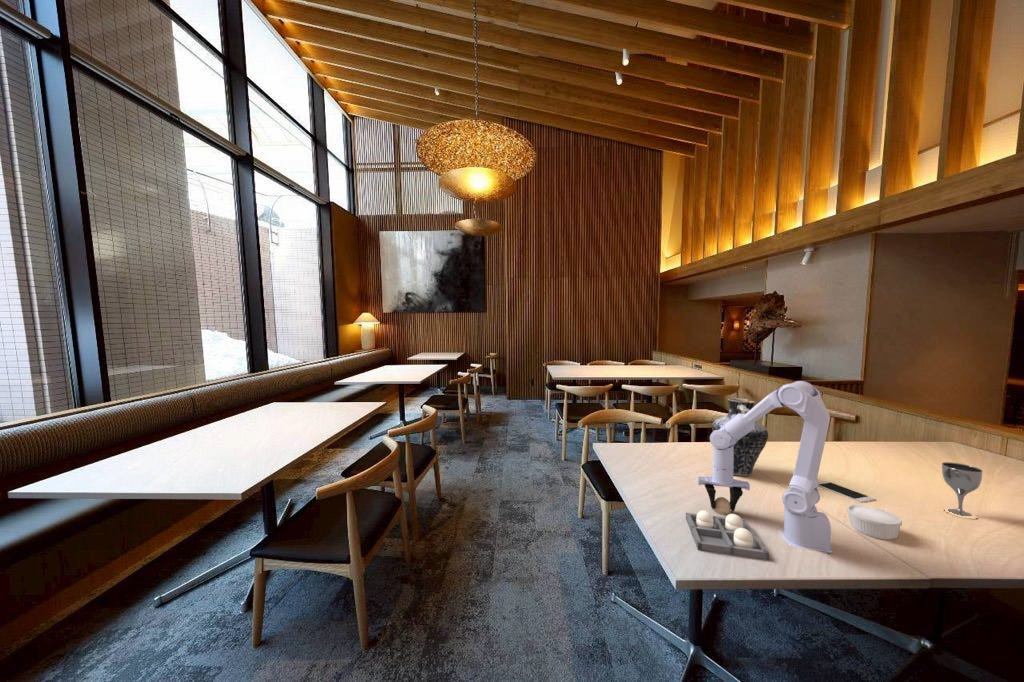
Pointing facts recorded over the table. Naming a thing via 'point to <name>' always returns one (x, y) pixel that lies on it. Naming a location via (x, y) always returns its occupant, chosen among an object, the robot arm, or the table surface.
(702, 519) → the cream egg
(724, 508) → the tan egg
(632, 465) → the table surface
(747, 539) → the cream egg
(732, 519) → the cream egg
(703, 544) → the egg tray
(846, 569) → the table surface
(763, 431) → the jug
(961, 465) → the wine glass
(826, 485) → the smartphone
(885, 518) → the ramekin
